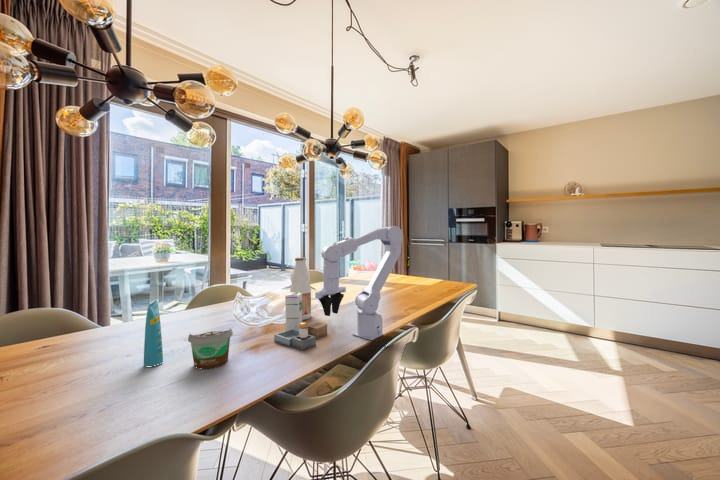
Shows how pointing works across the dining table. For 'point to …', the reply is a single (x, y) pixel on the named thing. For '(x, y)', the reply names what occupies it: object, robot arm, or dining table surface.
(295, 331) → the tray
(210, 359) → the food container
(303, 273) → the fruit juice
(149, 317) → the tube
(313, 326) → the chock
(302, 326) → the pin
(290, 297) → the syrup box
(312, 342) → the socket
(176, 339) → the dining table surface
